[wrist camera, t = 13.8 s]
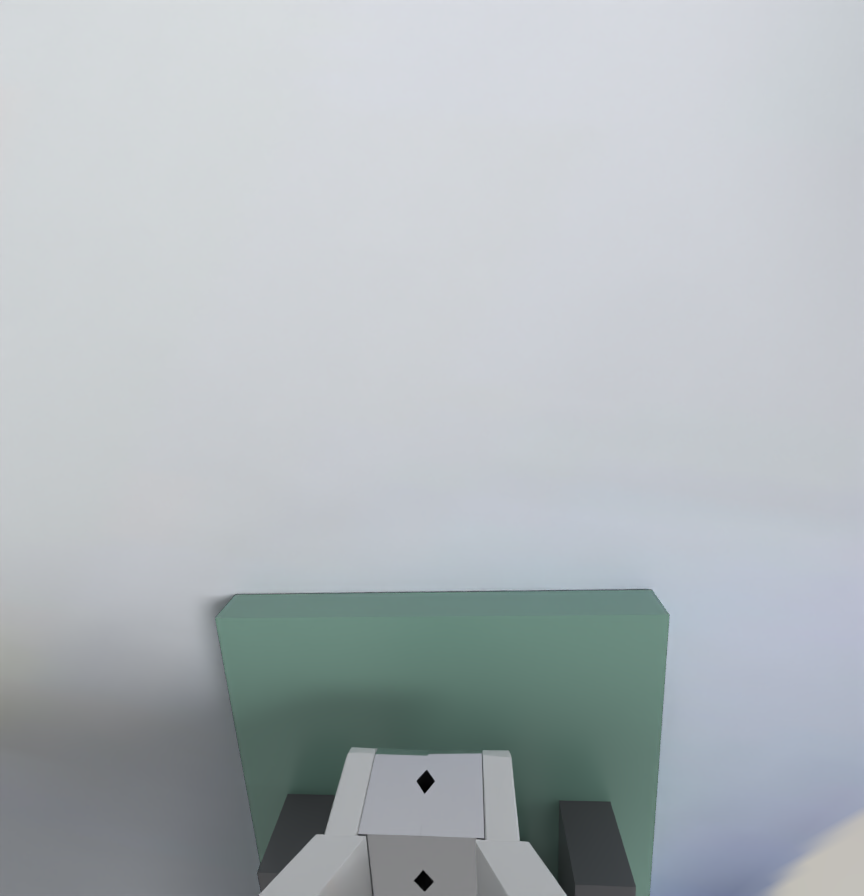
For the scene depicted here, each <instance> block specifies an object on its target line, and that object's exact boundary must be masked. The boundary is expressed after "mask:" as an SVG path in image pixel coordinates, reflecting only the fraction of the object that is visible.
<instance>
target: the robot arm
mask: <svg viewBox="0 0 864 896" xmlns="http://www.w3.org/2000/svg"><path fill="white" fill-rule="evenodd" d="M482 763H483V767H482ZM483 792H484V796H483ZM258 896H567V895H566V893H565V892H564V891H563V889H562V888H561V886H560V885H559V884H558V882H557V881H556V879H555V878H554V877H553V875H552V874H551V872H550V871H549V869H548V868H547V867H546V865H545V864H544V862H543V861H542V860H541V858H540V857H539V855H538V854H537V853H536V851H535V850H534V848H533V847H532V846H531V844H530V843H529V842H525V841H520V837H519V827H518V817H517V807H516V798H515V788H514V778H513V768H512V758H511V754H510V752H509V750H483V752H482V750H411V749H390V748H358V747H352V748H351V749H350V751H349V753H348V754H347V757H346V760H345V764H344V767H343V771H342V774H341V778H340V781H339V785H338V788H337V792H336V795H335V799H334V802H333V806H332V809H331V813H330V816H329V820H328V823H327V827H326V830H325V834H316V835H315V836H314V837H313V838H312V839H311V840H310V841H309V842H308V843H307V844H306V845H305V847H304V848H303V849H302V850H301V851H300V852H299V853H298V854H297V855H296V856H295V857H294V858H293V859H292V860H291V861H290V862H289V864H288V865H287V866H286V867H285V868H284V869H283V870H282V871H281V872H280V873H279V874H278V875H277V876H276V877H275V878H274V879H273V880H272V882H271V883H270V884H269V885H268V886H267V887H266V888H265V889H264V890H263V891H262V892H261V893H260V894H259V895H258Z"/></svg>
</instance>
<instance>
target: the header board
mask: <svg viewBox="0 0 864 896" xmlns="http://www.w3.org/2000/svg"><path fill="white" fill-rule="evenodd" d="M215 620H216V626H217V631H218V637H219V642H220V648H221V653H222V658H223V664H224V669H225V675H226V680H227V686H228V691H229V696H230V702H231V707H232V713H233V718H234V723H235V729H236V734H237V740H238V745H239V751H240V756H241V761H242V767H243V772H244V778H245V783H246V788H247V794H248V799H249V805H250V810H251V816H252V821H253V826H254V832H255V837H256V843H257V848H258V854H259V859H260V867H259V869H258V872H257V874H258V879H259V885H260V890H261V892H262V891H263V890H264V889H265V888H266V887H267V886H268V885H269V884H270V883H271V882H272V880H273V879H274V878H275V877H276V876H277V875H278V874H279V873H280V872H281V871H282V870H283V869H284V868H285V867H286V866H287V865H288V864H289V862H290V861H291V860H292V859H293V858H294V857H295V856H296V855H297V854H298V853H299V852H300V851H301V850H302V849H303V848H304V847H305V845H306V844H307V843H308V842H309V841H310V840H311V839H312V838H313V837H314V836H315V835H316V834H325V830H326V827H327V823H328V820H329V816H330V813H331V809H332V806H333V802H334V799H335V795H336V792H337V788H338V785H339V781H340V778H341V774H342V771H343V767H344V764H345V760H346V757H347V754H348V753H349V751H350V749H351V748H352V747H358V748H390V749H411V750H482V752H483V750H509V752H510V754H511V758H512V768H513V778H514V788H515V798H516V807H517V817H518V827H519V837H520V841H525V842H529V843H530V844H531V846H532V847H533V848H534V850H535V851H536V853H537V854H538V855H539V857H540V858H541V860H542V861H543V862H544V864H545V865H546V867H547V868H548V869H549V871H550V872H551V874H552V875H553V877H554V878H555V879H556V881H557V882H558V884H559V885H560V886H561V888H562V889H563V891H564V892H565V893H566V895H567V896H650V882H651V868H652V854H653V839H654V825H655V811H656V797H657V783H658V769H659V755H660V740H661V726H662V712H663V698H664V684H665V670H666V655H667V641H668V627H669V613H668V612H667V611H666V609H665V608H664V606H663V605H662V604H661V602H660V601H659V599H658V598H657V596H656V595H655V594H654V592H653V591H652V590H584V591H498V592H413V593H327V594H241V595H235V596H234V597H233V598H232V599H231V600H230V602H229V603H228V604H227V605H226V606H225V607H224V608H223V610H222V611H221V612H220V613H219V614H218V615H217V616H216V618H215ZM482 767H483V763H482ZM483 796H484V792H483Z"/></svg>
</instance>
